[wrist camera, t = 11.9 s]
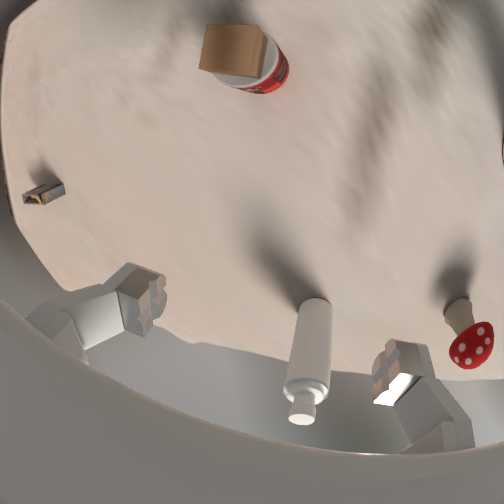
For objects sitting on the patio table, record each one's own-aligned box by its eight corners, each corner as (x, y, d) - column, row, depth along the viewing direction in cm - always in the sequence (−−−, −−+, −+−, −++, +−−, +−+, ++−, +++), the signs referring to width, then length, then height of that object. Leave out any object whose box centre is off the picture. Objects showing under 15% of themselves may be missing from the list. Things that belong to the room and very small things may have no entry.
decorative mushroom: (446, 332, 45) (463, 386, 33) (429, 312, 44) (448, 370, 32) (480, 304, 40) (506, 355, 28) (467, 281, 39) (496, 335, 27)
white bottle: (291, 309, 52) (264, 424, 31) (318, 291, 48) (303, 414, 27) (313, 328, 53) (296, 441, 32) (339, 313, 50) (334, 432, 28)
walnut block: (268, 38, 22) (257, 25, 18) (260, 78, 25) (248, 72, 20) (224, 35, 23) (207, 24, 19) (217, 74, 25) (198, 68, 21)
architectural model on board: (64, 181, 52) (35, 195, 44) (66, 193, 54) (37, 208, 45) (42, 182, 54) (15, 195, 46) (44, 193, 56) (18, 206, 48)
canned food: (226, 70, 34) (195, 58, 25) (266, 38, 30) (247, 15, 21) (258, 104, 36) (236, 101, 27) (300, 73, 32) (292, 58, 23)
